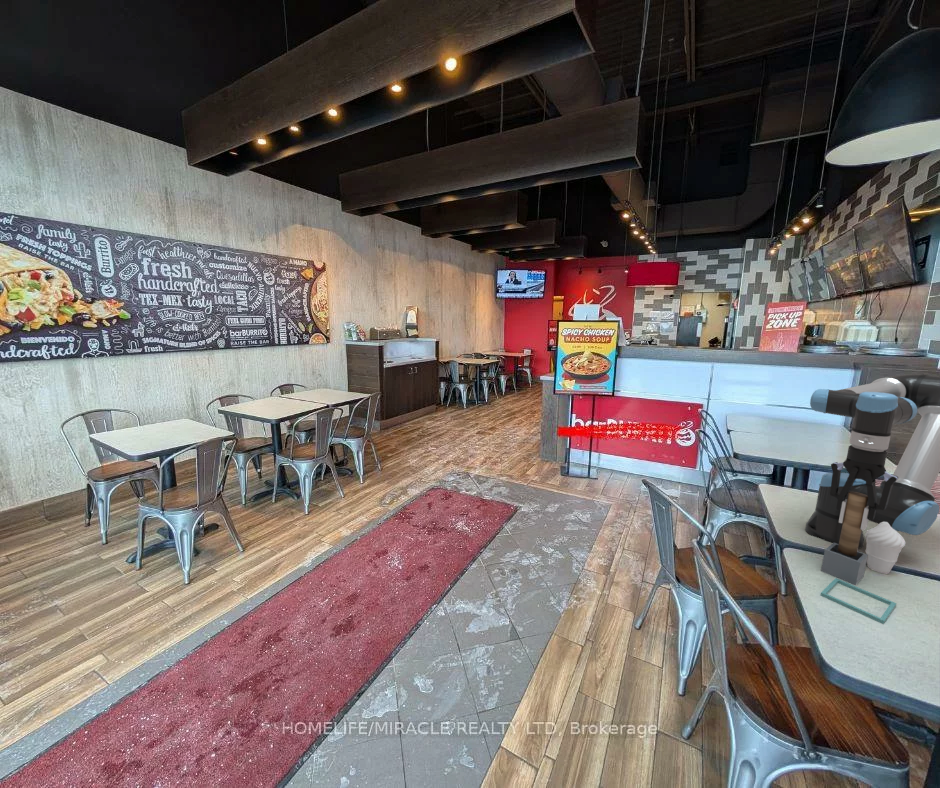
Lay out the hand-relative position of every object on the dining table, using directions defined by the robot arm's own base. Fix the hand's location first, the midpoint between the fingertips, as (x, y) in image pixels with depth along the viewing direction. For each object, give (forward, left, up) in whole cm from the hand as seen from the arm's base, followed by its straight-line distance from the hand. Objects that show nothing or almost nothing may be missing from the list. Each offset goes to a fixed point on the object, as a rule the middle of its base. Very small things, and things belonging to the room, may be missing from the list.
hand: (852, 524), depth 111 cm
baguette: (0, 0, -9) cm, 9 cm away
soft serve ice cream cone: (-13, +5, -17) cm, 22 cm away
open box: (0, 0, -17) cm, 17 cm away
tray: (+12, +6, -17) cm, 21 cm away
